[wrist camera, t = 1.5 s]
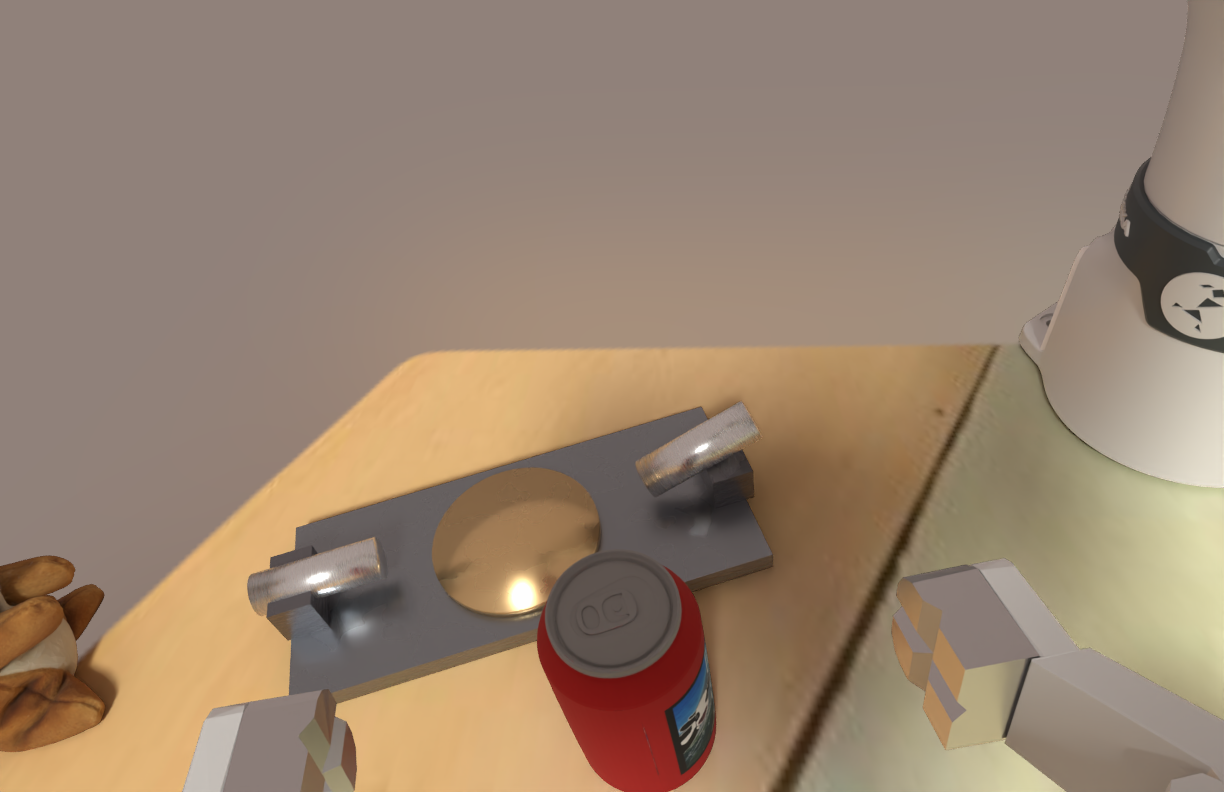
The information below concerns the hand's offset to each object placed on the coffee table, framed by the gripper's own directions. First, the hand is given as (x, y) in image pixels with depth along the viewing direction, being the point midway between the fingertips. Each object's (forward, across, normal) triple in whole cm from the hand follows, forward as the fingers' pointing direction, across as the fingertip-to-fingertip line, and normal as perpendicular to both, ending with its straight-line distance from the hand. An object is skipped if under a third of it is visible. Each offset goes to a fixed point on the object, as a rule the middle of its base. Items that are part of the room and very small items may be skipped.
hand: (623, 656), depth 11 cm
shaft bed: (+27, +4, +25) cm, 37 cm away
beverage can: (+15, -1, +27) cm, 31 cm away
